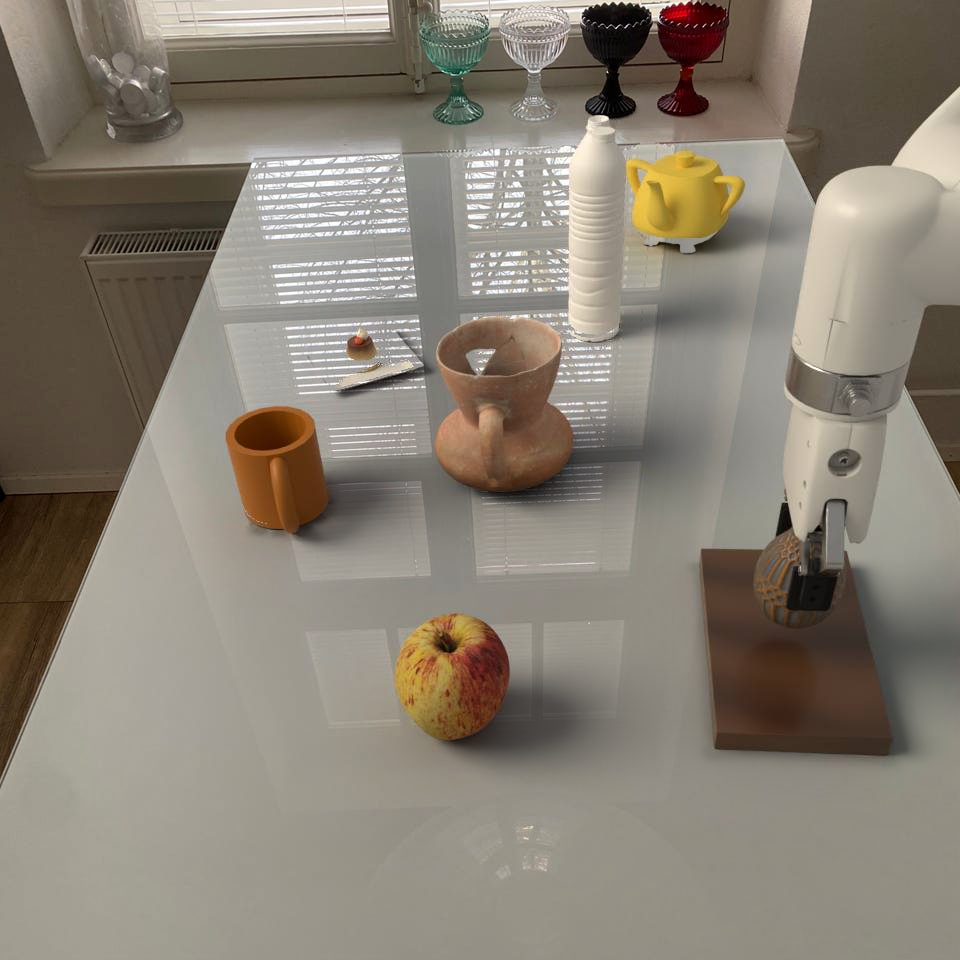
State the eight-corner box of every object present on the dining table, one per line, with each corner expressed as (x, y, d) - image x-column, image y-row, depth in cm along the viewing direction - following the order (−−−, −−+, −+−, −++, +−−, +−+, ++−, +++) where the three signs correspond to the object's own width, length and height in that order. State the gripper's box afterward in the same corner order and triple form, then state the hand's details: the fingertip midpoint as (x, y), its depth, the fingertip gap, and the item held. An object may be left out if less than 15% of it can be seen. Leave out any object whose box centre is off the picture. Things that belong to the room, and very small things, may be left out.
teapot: (613, 228, 147) (615, 143, 138) (705, 214, 148) (713, 129, 140) (643, 267, 137) (647, 178, 129) (741, 252, 138) (752, 163, 130)
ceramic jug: (454, 419, 113) (443, 301, 103) (581, 425, 110) (583, 304, 100) (419, 517, 100) (403, 393, 90) (562, 525, 98) (561, 399, 88)
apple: (502, 769, 77) (495, 682, 70) (390, 757, 79) (372, 671, 71) (519, 683, 83) (515, 596, 76) (415, 674, 85) (401, 587, 78)
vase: (851, 608, 81) (875, 523, 75) (807, 654, 77) (828, 569, 71) (776, 572, 84) (793, 489, 78) (731, 616, 81) (745, 531, 75)
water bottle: (565, 320, 128) (565, 110, 110) (616, 316, 128) (624, 105, 110) (573, 353, 121) (574, 136, 104) (626, 349, 121) (636, 132, 104)
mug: (235, 553, 98) (212, 478, 92) (250, 481, 107) (230, 408, 100) (325, 546, 98) (308, 471, 92) (333, 475, 106) (318, 402, 100)
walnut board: (698, 564, 93) (700, 548, 91) (842, 567, 91) (847, 550, 90) (714, 749, 77) (716, 732, 76) (887, 755, 76) (893, 739, 74)
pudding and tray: (332, 400, 117) (325, 363, 114) (303, 356, 125) (296, 320, 122) (426, 373, 120) (422, 337, 117) (391, 332, 128) (387, 297, 125)
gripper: (933, 447, 59) (869, 655, 72) (880, 309, 71) (833, 508, 84) (803, 446, 60) (762, 652, 72) (773, 311, 72) (742, 507, 85)
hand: (800, 573), depth 78 cm, fingers closed on vase, 6 cm apart
